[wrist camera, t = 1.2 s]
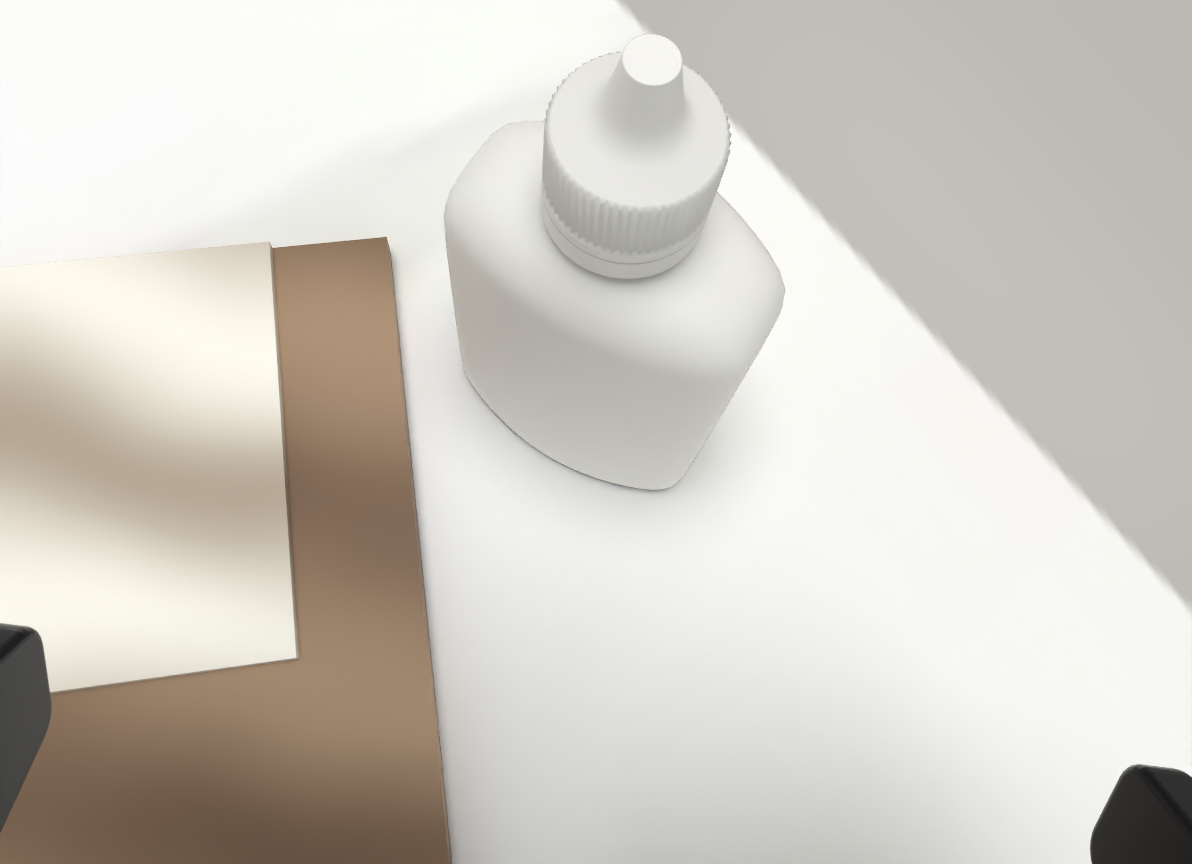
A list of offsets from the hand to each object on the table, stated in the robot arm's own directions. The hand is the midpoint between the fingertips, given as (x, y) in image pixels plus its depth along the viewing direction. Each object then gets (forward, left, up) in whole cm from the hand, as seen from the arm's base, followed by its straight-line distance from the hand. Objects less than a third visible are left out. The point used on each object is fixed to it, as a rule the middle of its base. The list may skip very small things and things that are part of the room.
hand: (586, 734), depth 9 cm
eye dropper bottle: (+7, -2, -13) cm, 15 cm away
